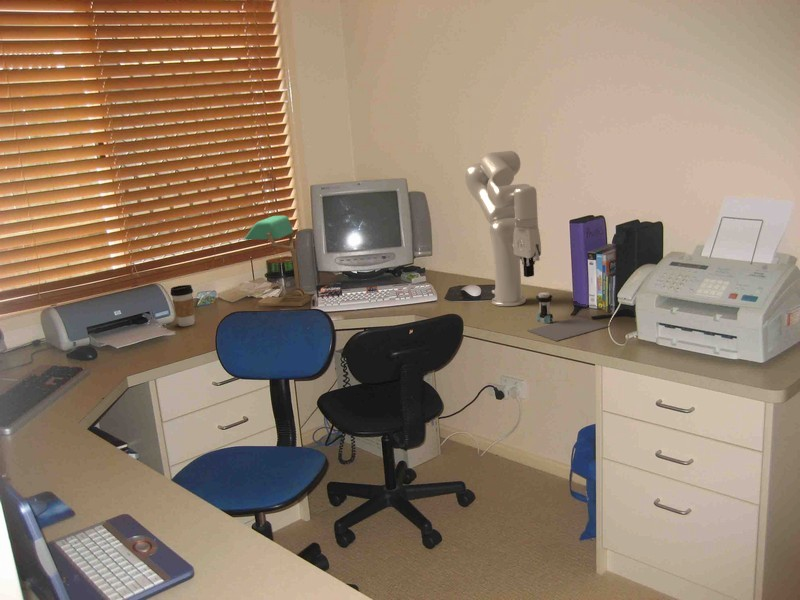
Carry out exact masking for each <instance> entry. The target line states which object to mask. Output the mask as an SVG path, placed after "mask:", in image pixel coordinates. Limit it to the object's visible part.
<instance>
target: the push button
mask: <svg viewBox="0 0 800 600" xmlns="http://www.w3.org/2000/svg"><path fill="white" fill-rule="evenodd" d="M535 297H536V302H538V303H539V304H538V305H539V311H538V313H537V322H538V323H539V322H540V323H545V324H552V322H553V323H557V322H556V318H554V315H553V313H551V308H550V307H551V304H550V302H552V301H553V295H552V294H550V292H548V291H543V292H539V293H538V295H536V296H535Z"/></svg>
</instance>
